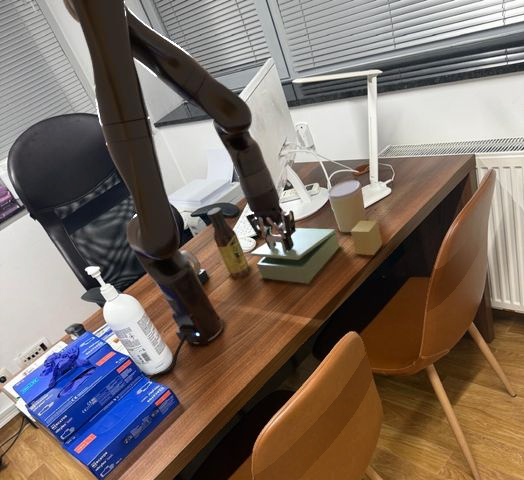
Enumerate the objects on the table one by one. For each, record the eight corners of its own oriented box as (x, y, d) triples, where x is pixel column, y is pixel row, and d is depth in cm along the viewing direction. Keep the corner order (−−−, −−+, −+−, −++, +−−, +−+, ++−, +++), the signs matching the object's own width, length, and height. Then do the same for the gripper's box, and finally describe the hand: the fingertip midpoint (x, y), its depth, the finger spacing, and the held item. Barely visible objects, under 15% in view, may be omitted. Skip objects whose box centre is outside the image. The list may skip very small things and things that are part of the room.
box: (308, 285, 116) (302, 268, 113) (263, 279, 126) (256, 264, 123) (340, 249, 124) (335, 232, 120) (295, 246, 134) (289, 230, 130)
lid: (297, 259, 110) (294, 240, 108) (251, 255, 120) (246, 238, 118) (335, 232, 120) (333, 213, 118) (289, 230, 130) (286, 213, 128)
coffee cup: (374, 217, 130) (366, 178, 122) (362, 235, 125) (352, 195, 118) (345, 219, 135) (335, 181, 128) (331, 236, 130) (321, 198, 123)
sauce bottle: (248, 276, 130) (220, 214, 118) (228, 280, 132) (200, 220, 120) (252, 264, 135) (226, 203, 122) (233, 268, 137) (206, 208, 125)
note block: (374, 257, 115) (368, 231, 111) (356, 256, 118) (350, 231, 114) (382, 246, 117) (377, 220, 113) (365, 245, 121) (359, 220, 116)
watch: (195, 276, 141) (179, 246, 135) (213, 278, 136) (197, 247, 130) (183, 287, 139) (167, 257, 132) (201, 289, 134) (185, 258, 127)
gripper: (227, 196, 109) (253, 255, 120) (272, 195, 100) (296, 258, 111) (245, 180, 113) (269, 239, 123) (291, 178, 104) (311, 241, 114)
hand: (281, 248), depth 117 cm, fingers closed on lid, 5 cm apart
